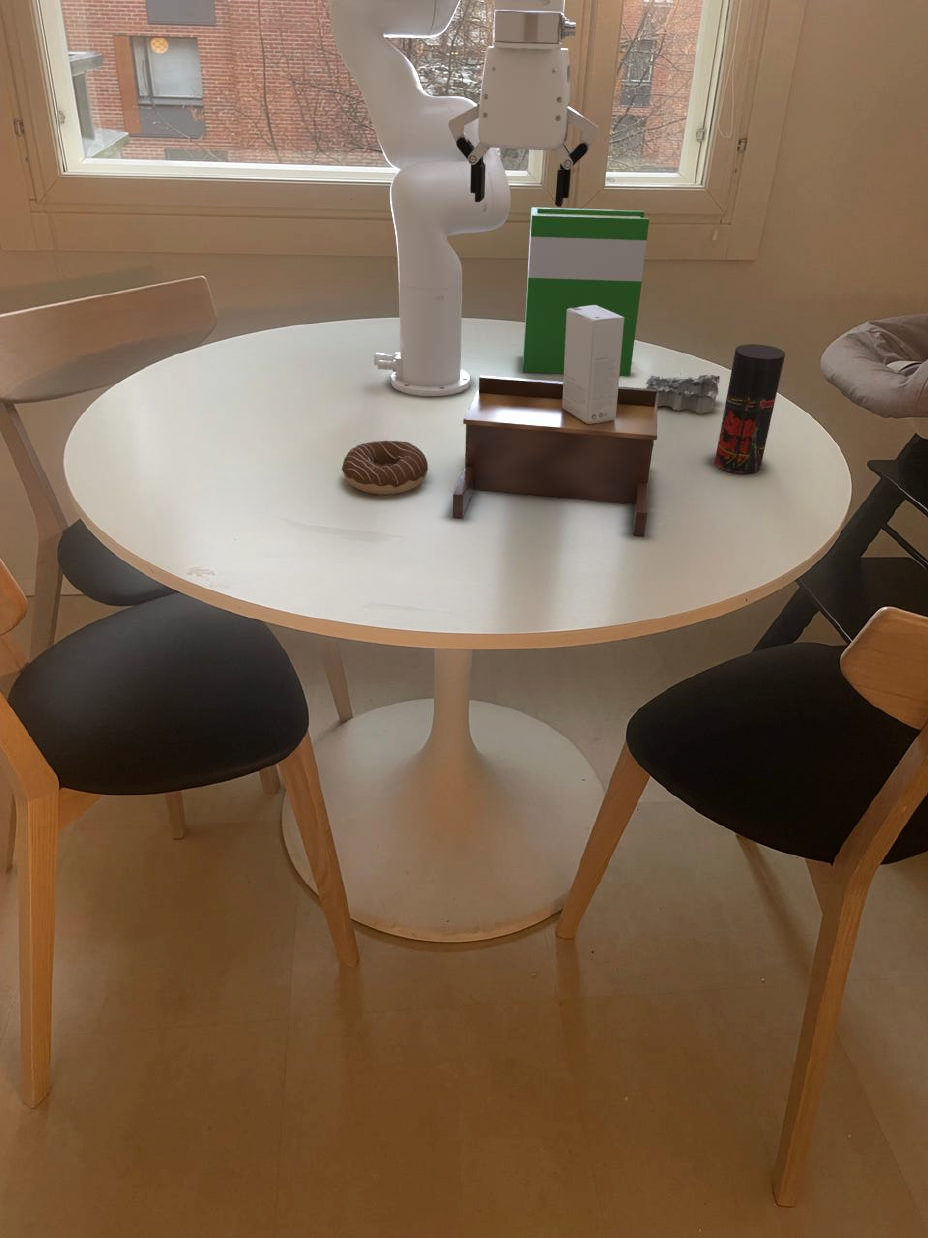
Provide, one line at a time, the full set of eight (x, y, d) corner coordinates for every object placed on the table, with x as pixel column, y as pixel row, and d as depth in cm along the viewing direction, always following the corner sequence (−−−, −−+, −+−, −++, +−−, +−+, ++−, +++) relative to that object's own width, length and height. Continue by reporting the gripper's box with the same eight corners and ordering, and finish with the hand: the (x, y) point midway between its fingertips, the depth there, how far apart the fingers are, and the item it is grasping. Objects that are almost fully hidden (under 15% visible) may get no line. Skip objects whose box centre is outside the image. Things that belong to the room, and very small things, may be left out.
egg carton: (719, 401, 139) (723, 375, 137) (709, 417, 134) (714, 390, 131) (651, 390, 143) (655, 364, 141) (639, 405, 137) (643, 378, 135)
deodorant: (708, 456, 121) (728, 344, 113) (751, 455, 122) (774, 343, 113) (722, 474, 116) (745, 358, 108) (767, 473, 117) (792, 358, 109)
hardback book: (625, 362, 155) (643, 210, 141) (630, 376, 148) (649, 218, 135) (523, 358, 155) (531, 207, 142) (522, 372, 149) (531, 215, 136)
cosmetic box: (617, 420, 107) (629, 316, 100) (584, 426, 105) (595, 320, 98) (589, 403, 111) (598, 302, 105) (557, 408, 110) (565, 306, 103)
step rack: (449, 517, 105) (451, 427, 99) (475, 456, 120) (477, 374, 114) (646, 536, 102) (660, 444, 96) (647, 471, 117) (659, 388, 111)
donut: (422, 461, 118) (422, 432, 116) (434, 497, 109) (434, 466, 107) (340, 466, 116) (338, 436, 114) (345, 502, 107) (343, 471, 105)
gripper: (608, 34, 101) (593, 201, 110) (456, 29, 103) (454, 193, 112) (605, 35, 94) (589, 211, 104) (444, 30, 97) (442, 203, 106)
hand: (519, 202), depth 108 cm, fingers open, 9 cm apart
